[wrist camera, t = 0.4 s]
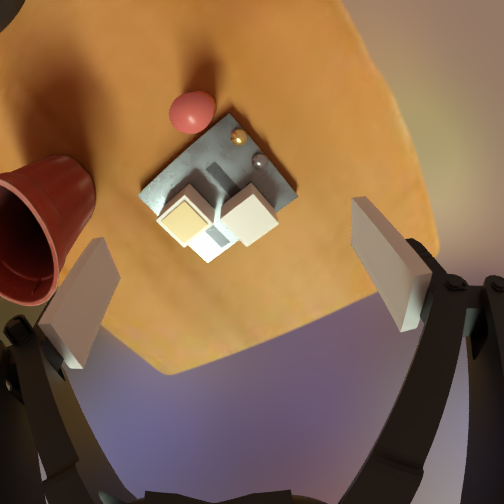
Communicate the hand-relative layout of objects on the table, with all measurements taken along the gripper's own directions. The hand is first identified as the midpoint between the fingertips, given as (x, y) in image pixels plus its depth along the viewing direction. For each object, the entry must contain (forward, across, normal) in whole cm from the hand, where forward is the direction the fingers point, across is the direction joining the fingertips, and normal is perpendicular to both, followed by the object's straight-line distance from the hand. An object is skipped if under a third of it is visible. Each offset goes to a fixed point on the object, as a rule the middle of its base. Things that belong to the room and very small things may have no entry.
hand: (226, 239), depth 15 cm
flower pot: (+25, -26, -2) cm, 36 cm away
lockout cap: (+25, -3, +5) cm, 26 cm away
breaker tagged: (+23, -7, -8) cm, 25 cm away
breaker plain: (+23, +1, -9) cm, 25 cm away
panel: (+25, -3, -6) cm, 26 cm away
